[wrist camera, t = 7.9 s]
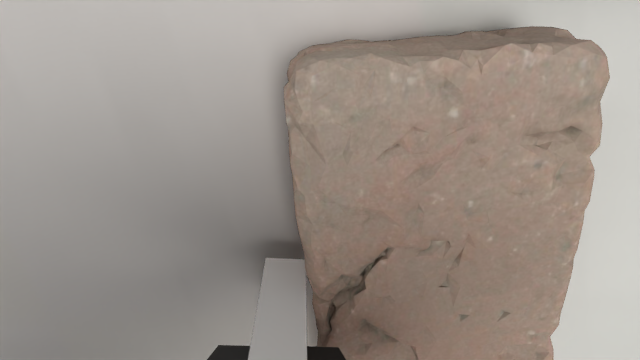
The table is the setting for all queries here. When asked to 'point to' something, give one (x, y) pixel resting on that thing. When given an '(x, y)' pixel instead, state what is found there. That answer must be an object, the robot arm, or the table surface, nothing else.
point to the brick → (443, 188)
